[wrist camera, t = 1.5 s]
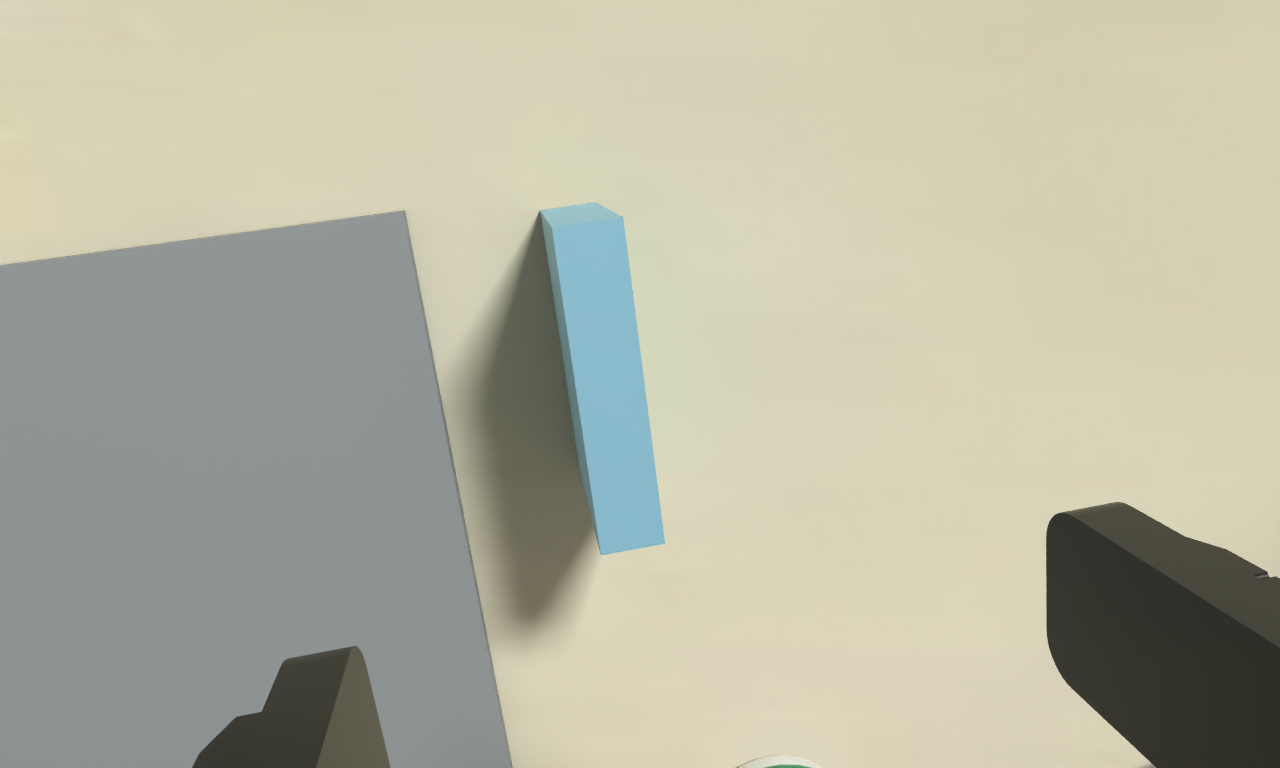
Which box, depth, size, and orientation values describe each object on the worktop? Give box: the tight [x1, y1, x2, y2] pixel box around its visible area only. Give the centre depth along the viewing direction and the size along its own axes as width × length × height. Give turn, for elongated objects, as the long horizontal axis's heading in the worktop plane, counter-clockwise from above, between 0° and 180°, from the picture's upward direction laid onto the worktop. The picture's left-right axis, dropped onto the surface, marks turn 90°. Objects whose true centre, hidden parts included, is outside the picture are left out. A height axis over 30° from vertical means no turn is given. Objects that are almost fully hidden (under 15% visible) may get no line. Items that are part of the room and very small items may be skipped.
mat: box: [0, 210, 512, 768], centre depth 26 cm, size 15×19×1 cm
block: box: [540, 203, 665, 555], centre depth 24 cm, size 2×8×6 cm, turn 7°
